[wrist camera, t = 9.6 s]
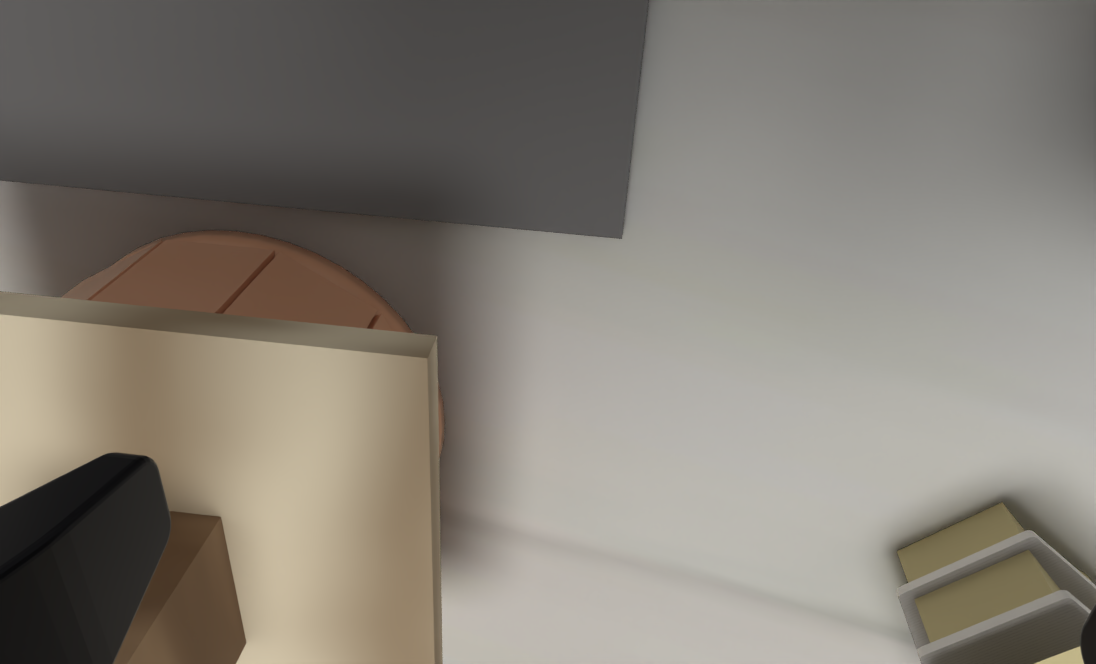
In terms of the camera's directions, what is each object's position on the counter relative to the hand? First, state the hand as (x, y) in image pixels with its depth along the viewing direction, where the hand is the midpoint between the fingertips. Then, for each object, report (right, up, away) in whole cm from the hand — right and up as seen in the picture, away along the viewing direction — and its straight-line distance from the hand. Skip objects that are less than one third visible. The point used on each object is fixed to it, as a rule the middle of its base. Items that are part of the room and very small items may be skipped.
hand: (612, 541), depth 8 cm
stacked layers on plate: (+13, -6, +18) cm, 23 cm away
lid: (-10, -3, +11) cm, 15 cm away
